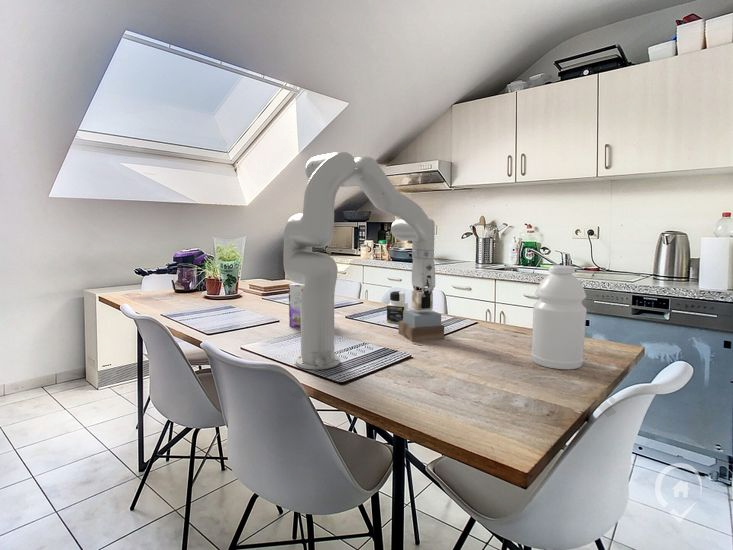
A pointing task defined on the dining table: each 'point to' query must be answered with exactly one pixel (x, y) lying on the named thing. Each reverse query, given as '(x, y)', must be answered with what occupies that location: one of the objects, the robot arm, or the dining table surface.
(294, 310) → the candy box
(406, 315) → the slate top block
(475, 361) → the dining table surface
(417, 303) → the maple block
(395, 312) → the medicine bottle
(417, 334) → the walnut base block
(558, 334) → the bottle
